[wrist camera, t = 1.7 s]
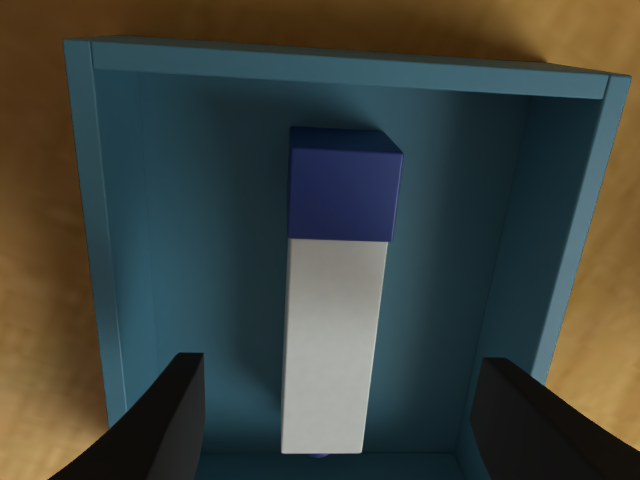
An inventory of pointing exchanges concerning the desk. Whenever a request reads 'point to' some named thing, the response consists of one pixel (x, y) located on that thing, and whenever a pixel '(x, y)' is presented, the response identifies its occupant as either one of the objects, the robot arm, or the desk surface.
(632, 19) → the desk surface
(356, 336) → the marker
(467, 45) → the desk surface
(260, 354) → the storage box
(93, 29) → the desk surface
